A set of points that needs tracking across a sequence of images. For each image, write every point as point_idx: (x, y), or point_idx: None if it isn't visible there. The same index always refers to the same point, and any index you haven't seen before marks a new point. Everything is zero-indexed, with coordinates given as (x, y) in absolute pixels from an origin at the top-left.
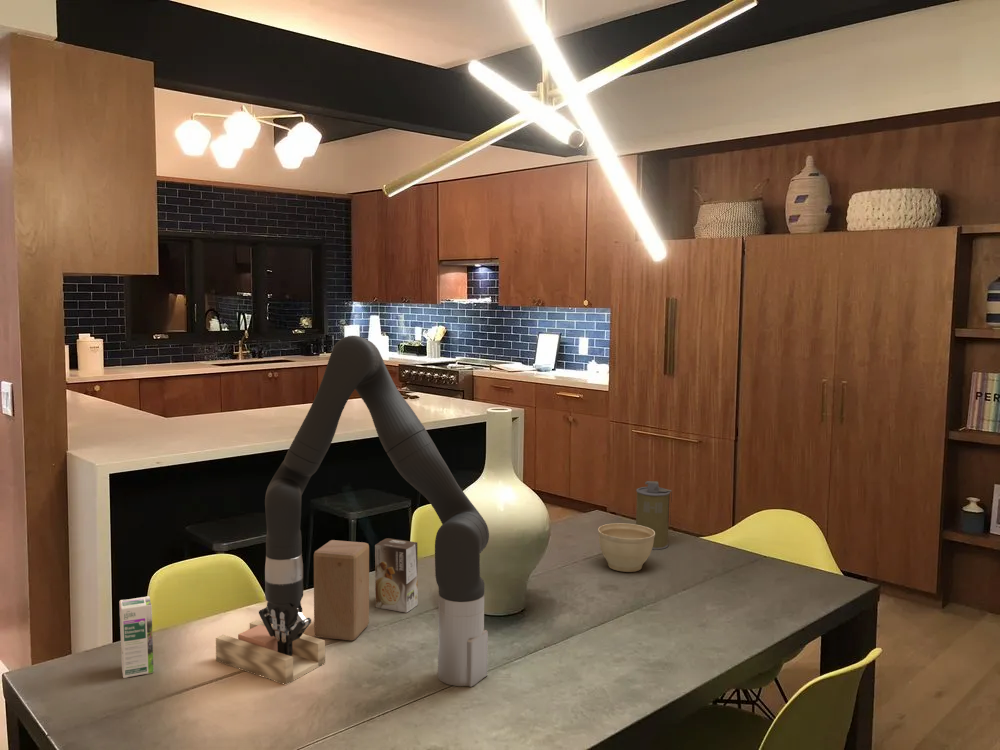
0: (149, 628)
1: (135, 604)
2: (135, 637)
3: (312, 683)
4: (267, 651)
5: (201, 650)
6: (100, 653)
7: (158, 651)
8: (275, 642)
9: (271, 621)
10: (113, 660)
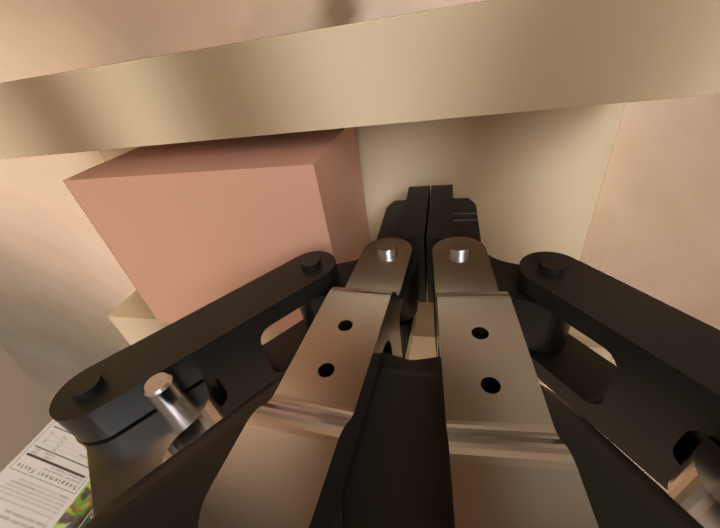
0: (88, 511)
1: None
2: None
3: (693, 227)
4: (418, 354)
5: (88, 255)
6: (31, 360)
7: (56, 310)
8: (344, 255)
9: (260, 371)
10: (77, 369)
